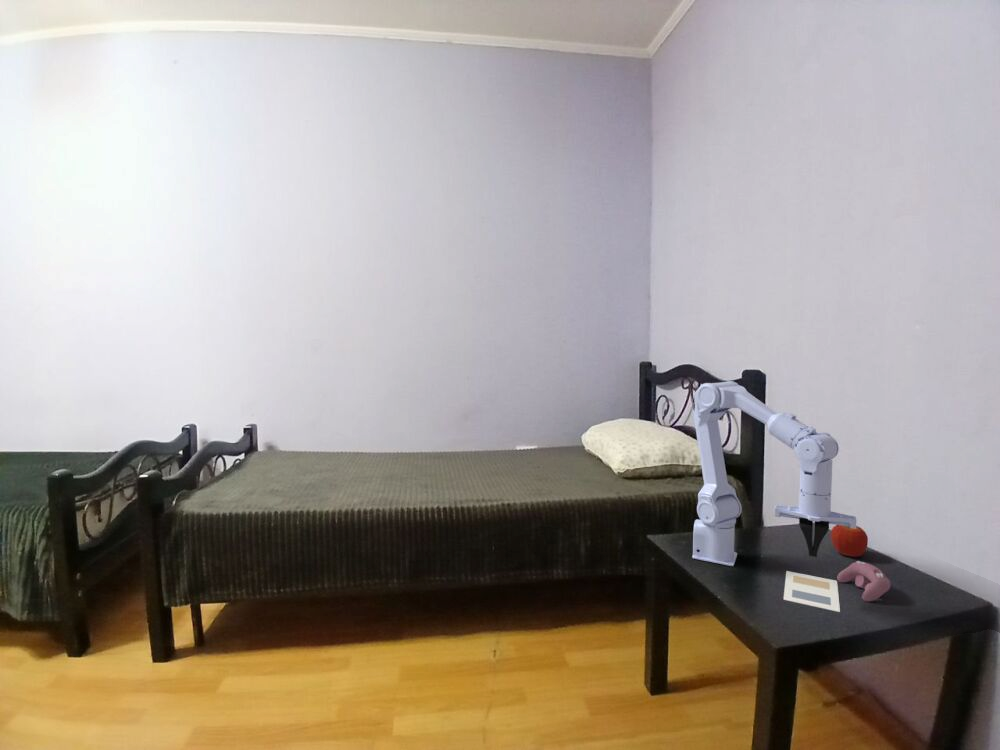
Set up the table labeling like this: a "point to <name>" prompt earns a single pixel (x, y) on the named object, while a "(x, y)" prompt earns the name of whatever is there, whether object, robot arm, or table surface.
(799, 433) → the robot arm
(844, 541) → the apple
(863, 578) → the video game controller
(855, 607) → the table surface
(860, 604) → the table surface
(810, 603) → the label card
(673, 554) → the table surface
